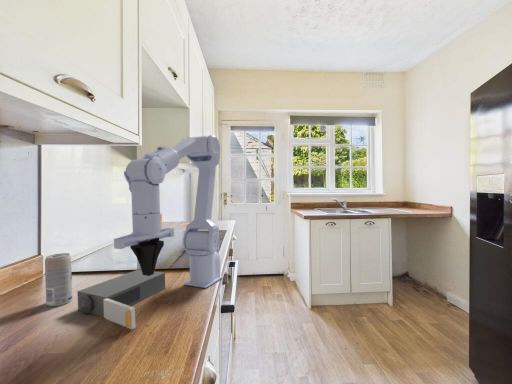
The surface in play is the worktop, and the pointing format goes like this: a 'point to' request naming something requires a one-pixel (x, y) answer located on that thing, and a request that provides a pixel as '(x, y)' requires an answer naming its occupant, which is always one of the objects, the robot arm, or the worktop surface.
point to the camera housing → (120, 291)
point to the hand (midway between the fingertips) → (148, 274)
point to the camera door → (119, 313)
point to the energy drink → (58, 279)
